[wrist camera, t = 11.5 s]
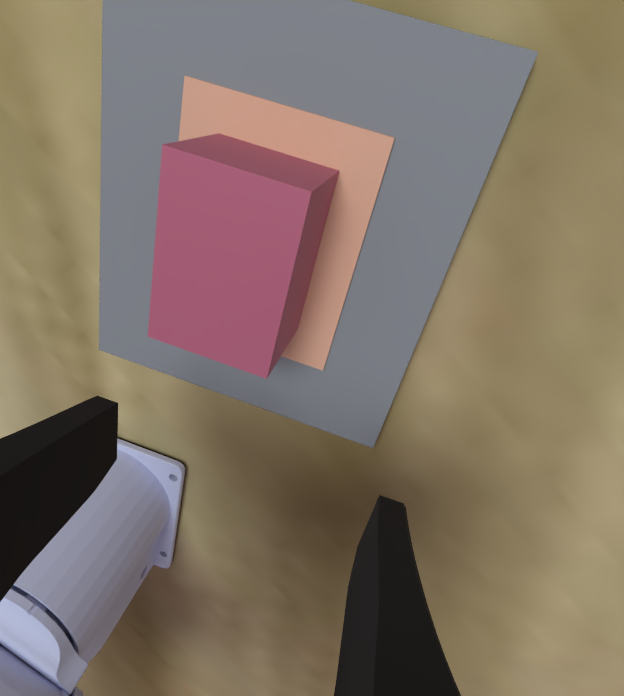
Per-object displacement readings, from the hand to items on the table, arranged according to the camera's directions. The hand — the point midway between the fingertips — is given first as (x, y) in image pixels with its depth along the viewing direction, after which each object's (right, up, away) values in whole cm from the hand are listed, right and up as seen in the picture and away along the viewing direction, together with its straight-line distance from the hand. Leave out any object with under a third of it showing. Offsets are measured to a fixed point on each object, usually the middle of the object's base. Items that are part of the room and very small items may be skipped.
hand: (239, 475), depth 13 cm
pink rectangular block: (0, +7, +6) cm, 10 cm away
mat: (0, +8, +7) cm, 10 cm away
